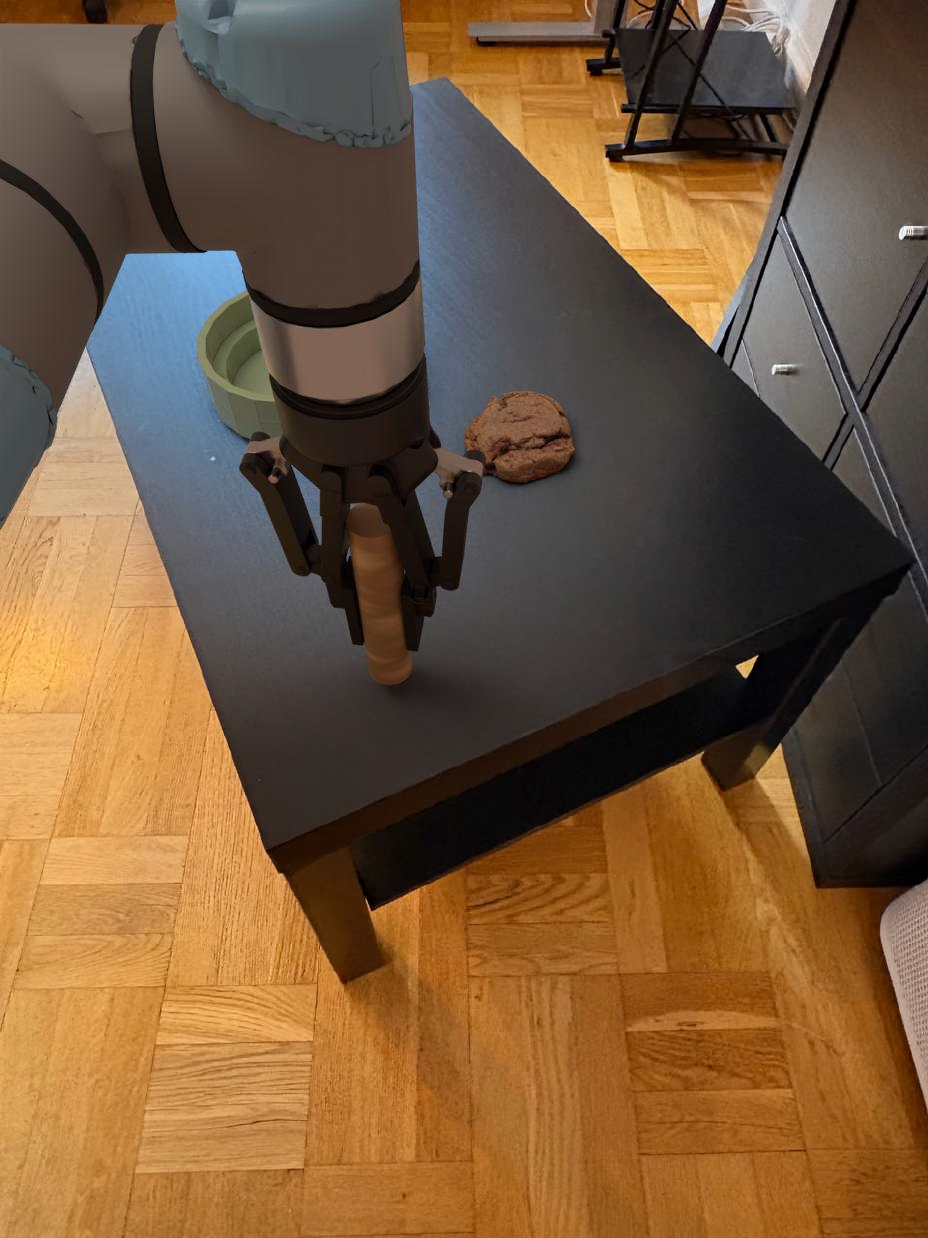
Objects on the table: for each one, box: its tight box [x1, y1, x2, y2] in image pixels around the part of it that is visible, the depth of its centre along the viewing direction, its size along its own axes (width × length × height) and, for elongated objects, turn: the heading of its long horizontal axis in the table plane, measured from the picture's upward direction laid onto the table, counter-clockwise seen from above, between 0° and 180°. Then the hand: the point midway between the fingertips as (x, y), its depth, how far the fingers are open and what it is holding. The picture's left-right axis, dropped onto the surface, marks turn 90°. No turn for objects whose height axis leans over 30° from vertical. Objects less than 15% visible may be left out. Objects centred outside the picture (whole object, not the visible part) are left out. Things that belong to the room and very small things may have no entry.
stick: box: [346, 503, 413, 686], centre depth 55 cm, size 3×3×15 cm
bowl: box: [196, 289, 283, 440], centre depth 79 cm, size 18×18×6 cm
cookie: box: [463, 390, 575, 484], centre depth 75 cm, size 10×11×3 cm
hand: (388, 631), depth 59 cm, fingers closed on stick, 3 cm apart
